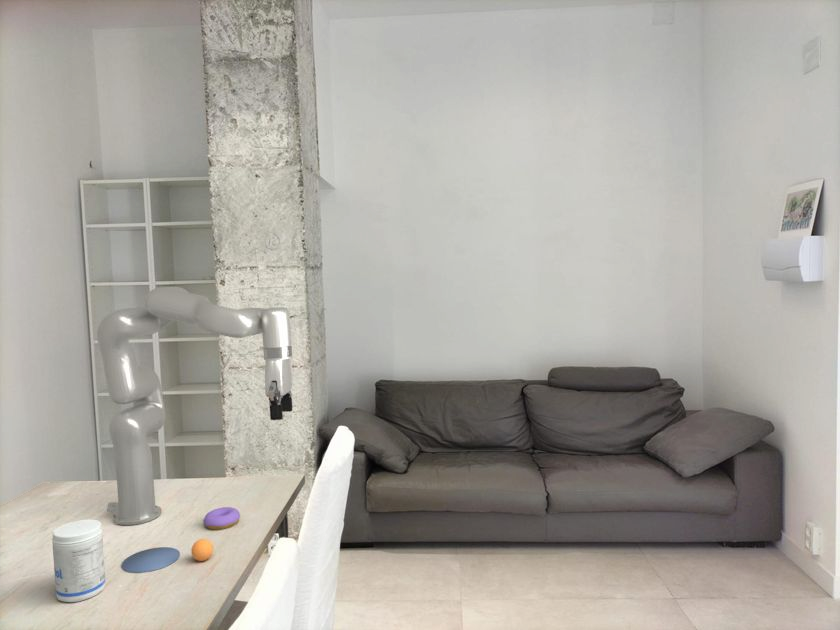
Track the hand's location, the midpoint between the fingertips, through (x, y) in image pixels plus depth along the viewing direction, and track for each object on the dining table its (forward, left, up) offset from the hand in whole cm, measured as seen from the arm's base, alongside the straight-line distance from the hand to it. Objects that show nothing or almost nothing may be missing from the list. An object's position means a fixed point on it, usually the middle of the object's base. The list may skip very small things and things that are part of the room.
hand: (281, 415), depth 170 cm
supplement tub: (-34, -39, -30) cm, 60 cm away
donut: (-18, -2, -30) cm, 35 cm away
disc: (-27, -23, -30) cm, 46 cm away
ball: (-14, -23, -27) cm, 38 cm away
